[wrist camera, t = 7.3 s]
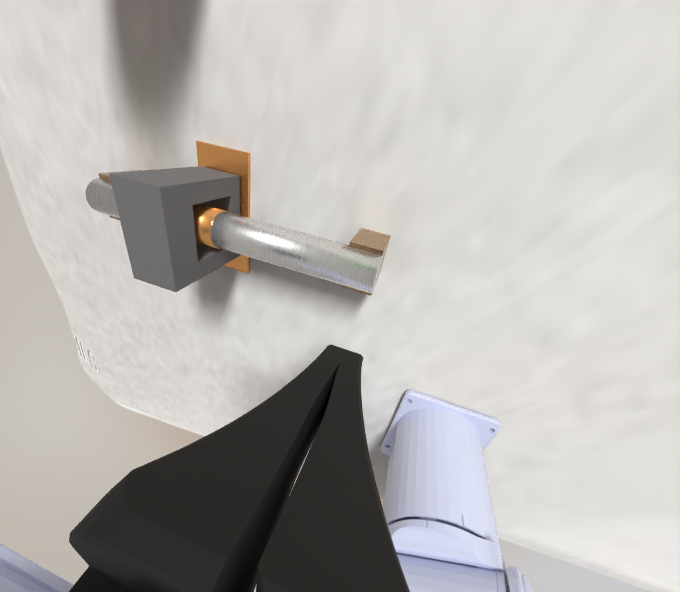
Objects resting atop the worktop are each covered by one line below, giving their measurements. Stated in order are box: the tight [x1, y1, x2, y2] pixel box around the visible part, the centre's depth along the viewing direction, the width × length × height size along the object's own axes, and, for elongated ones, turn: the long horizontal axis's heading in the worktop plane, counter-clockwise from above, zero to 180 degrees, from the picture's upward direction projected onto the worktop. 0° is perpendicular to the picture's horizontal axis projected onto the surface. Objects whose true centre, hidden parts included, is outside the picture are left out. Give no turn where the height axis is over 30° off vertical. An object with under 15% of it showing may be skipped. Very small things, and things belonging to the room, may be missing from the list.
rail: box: [86, 141, 390, 295], centre depth 19 cm, size 20×9×4 cm, turn 79°
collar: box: [109, 166, 241, 292], centre depth 18 cm, size 3×6×7 cm, turn 169°
